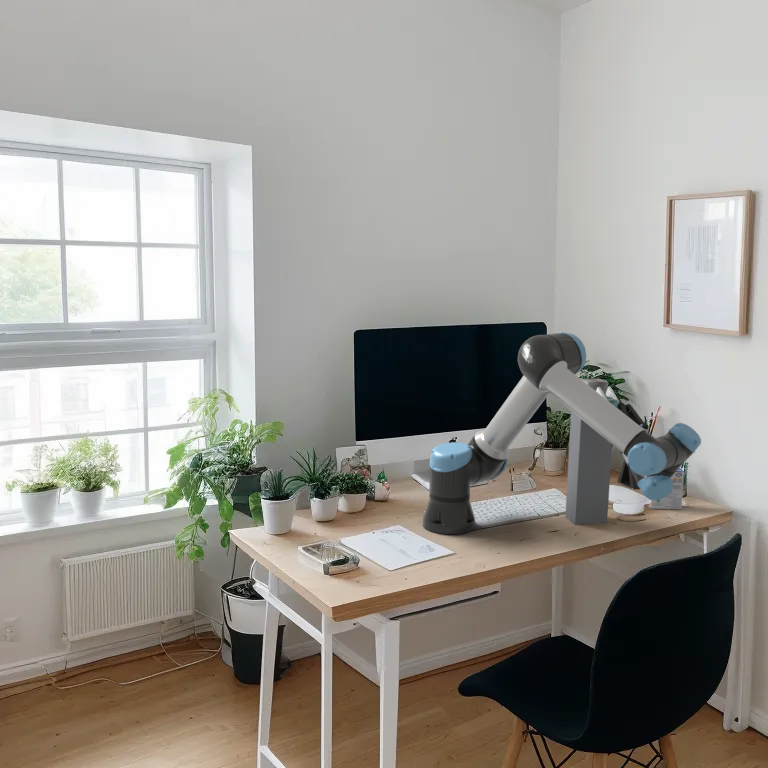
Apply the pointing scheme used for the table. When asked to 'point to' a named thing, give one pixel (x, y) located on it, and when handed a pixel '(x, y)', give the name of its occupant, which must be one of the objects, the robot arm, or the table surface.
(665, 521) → the table surface
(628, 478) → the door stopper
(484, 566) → the table surface
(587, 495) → the charcoal stand
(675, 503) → the ink cartridge box
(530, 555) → the table surface
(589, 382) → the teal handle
